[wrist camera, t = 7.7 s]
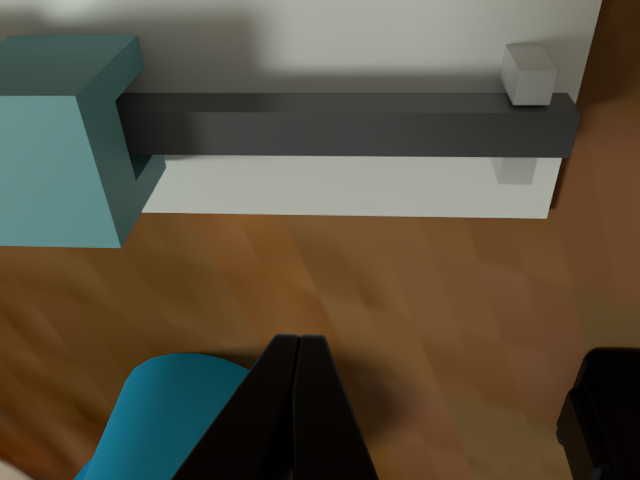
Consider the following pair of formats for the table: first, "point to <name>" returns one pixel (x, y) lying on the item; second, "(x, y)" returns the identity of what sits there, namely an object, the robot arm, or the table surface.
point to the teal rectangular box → (69, 142)
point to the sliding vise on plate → (343, 100)
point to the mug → (162, 416)
